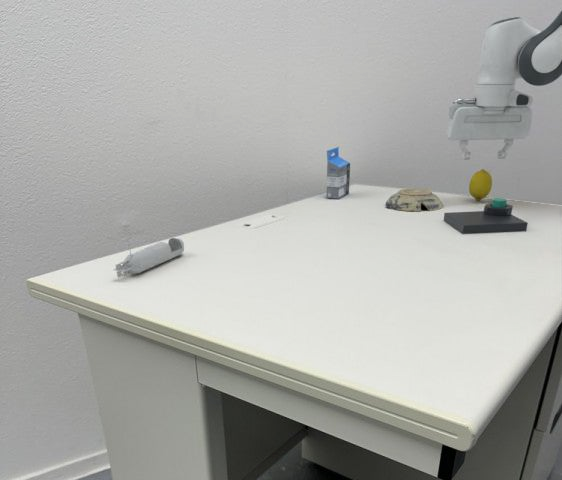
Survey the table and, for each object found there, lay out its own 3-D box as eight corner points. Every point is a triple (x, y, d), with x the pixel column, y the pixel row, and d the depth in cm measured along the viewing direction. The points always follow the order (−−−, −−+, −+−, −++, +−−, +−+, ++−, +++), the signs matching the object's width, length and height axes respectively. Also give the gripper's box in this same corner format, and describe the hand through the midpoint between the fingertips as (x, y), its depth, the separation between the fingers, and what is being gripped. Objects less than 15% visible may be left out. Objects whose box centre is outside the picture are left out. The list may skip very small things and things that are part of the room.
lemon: (493, 202, 142) (498, 169, 138) (475, 204, 141) (480, 171, 137) (480, 198, 147) (484, 166, 143) (462, 200, 145) (467, 168, 141)
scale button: (502, 205, 125) (503, 197, 124) (507, 208, 122) (509, 200, 121) (489, 206, 125) (490, 198, 124) (494, 209, 122) (496, 201, 121)
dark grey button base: (502, 217, 128) (505, 202, 126) (528, 231, 117) (531, 214, 115) (442, 220, 127) (444, 205, 125) (462, 234, 116) (464, 217, 114)
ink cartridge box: (339, 199, 150) (340, 151, 144) (325, 198, 151) (326, 150, 145) (349, 193, 157) (351, 147, 151) (336, 192, 158) (338, 146, 152)
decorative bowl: (417, 197, 150) (372, 203, 144) (419, 183, 148) (373, 188, 142) (455, 208, 138) (408, 215, 132) (458, 193, 136) (410, 199, 130)
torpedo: (171, 251, 109) (167, 219, 106) (190, 254, 108) (187, 221, 104) (108, 279, 96) (101, 242, 92) (129, 283, 94) (122, 245, 91)
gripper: (456, 99, 128) (448, 161, 135) (539, 97, 130) (527, 159, 137) (446, 98, 134) (439, 158, 141) (527, 96, 135) (516, 156, 142)
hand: (483, 158), depth 139 cm, fingers open, 8 cm apart
